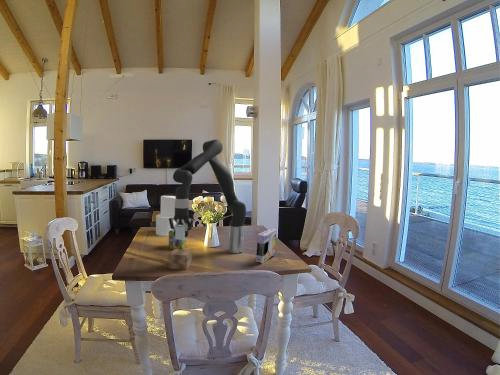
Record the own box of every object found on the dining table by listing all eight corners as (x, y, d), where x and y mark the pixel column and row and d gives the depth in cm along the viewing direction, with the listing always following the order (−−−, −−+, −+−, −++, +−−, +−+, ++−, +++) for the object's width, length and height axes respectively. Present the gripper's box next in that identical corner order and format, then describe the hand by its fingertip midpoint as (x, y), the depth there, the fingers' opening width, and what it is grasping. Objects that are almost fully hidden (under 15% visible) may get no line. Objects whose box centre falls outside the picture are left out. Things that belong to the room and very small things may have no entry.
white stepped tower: (168, 229, 262) (169, 195, 259) (183, 233, 252) (184, 197, 249) (151, 233, 248) (151, 196, 245) (165, 237, 238) (166, 199, 235)
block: (186, 237, 181) (187, 225, 180) (184, 239, 176) (184, 227, 175) (177, 236, 182) (178, 224, 181) (175, 239, 177) (175, 226, 176)
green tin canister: (181, 249, 210) (182, 227, 208) (168, 248, 211) (168, 226, 209) (186, 245, 219) (186, 224, 218) (172, 244, 220) (173, 223, 218)
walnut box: (191, 263, 185) (191, 250, 184) (186, 269, 175) (187, 255, 174) (174, 262, 186) (174, 248, 185) (168, 268, 176) (168, 254, 175)
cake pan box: (261, 265, 189) (263, 235, 187) (254, 263, 191) (255, 233, 189) (275, 256, 205) (277, 229, 203) (268, 255, 208) (270, 228, 206)
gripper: (196, 206, 180) (195, 236, 182) (171, 204, 181) (170, 234, 183) (193, 208, 173) (192, 239, 175) (166, 206, 174) (166, 237, 176)
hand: (180, 236), depth 179 cm, fingers closed on block, 5 cm apart
